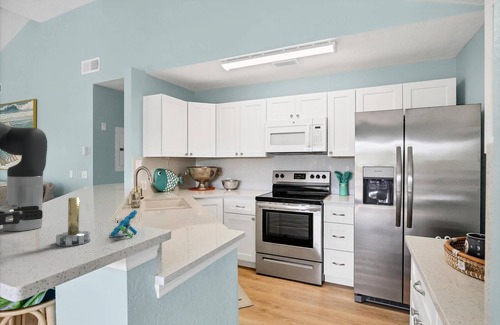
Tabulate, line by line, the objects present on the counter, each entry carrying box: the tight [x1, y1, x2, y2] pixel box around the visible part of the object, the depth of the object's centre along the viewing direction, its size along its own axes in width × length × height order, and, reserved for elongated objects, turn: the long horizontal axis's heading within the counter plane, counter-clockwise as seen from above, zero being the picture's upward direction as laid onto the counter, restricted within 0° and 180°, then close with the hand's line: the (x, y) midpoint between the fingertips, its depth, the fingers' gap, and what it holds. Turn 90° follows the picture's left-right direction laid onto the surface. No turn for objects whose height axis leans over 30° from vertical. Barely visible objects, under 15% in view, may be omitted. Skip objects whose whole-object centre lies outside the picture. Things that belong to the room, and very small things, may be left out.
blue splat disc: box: [110, 209, 138, 239], centre depth 85 cm, size 11×6×10 cm
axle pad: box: [55, 238, 91, 248], centre depth 76 cm, size 8×8×1 cm
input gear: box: [55, 196, 91, 246], centre depth 76 cm, size 8×8×12 cm
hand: (40, 211), depth 71 cm, fingers open, 8 cm apart
